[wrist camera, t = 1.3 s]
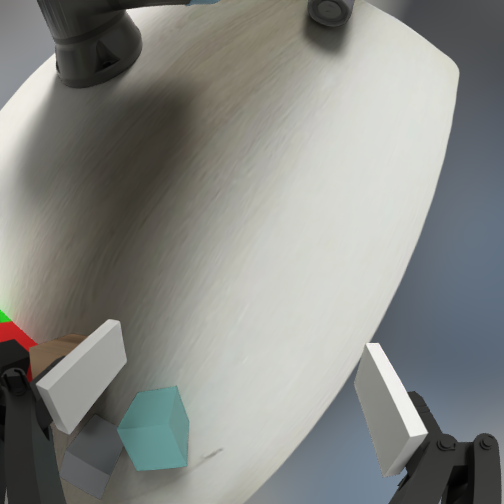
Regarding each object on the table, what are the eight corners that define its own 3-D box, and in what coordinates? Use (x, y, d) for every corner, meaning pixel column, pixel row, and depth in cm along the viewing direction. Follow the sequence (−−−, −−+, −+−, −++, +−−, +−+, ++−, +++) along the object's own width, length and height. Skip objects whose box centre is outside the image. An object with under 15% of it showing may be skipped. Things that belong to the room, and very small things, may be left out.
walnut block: (71, 333, 28) (28, 347, 18) (107, 338, 28) (72, 357, 19) (74, 372, 27) (35, 397, 17) (109, 378, 28) (78, 409, 18)
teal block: (137, 392, 28) (116, 429, 19) (176, 386, 29) (168, 423, 20) (151, 426, 28) (137, 470, 18) (189, 421, 29) (186, 466, 19)
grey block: (94, 413, 27) (65, 450, 17) (129, 432, 27) (110, 475, 17) (86, 438, 26) (59, 476, 16) (118, 456, 26) (100, 499, 16)
